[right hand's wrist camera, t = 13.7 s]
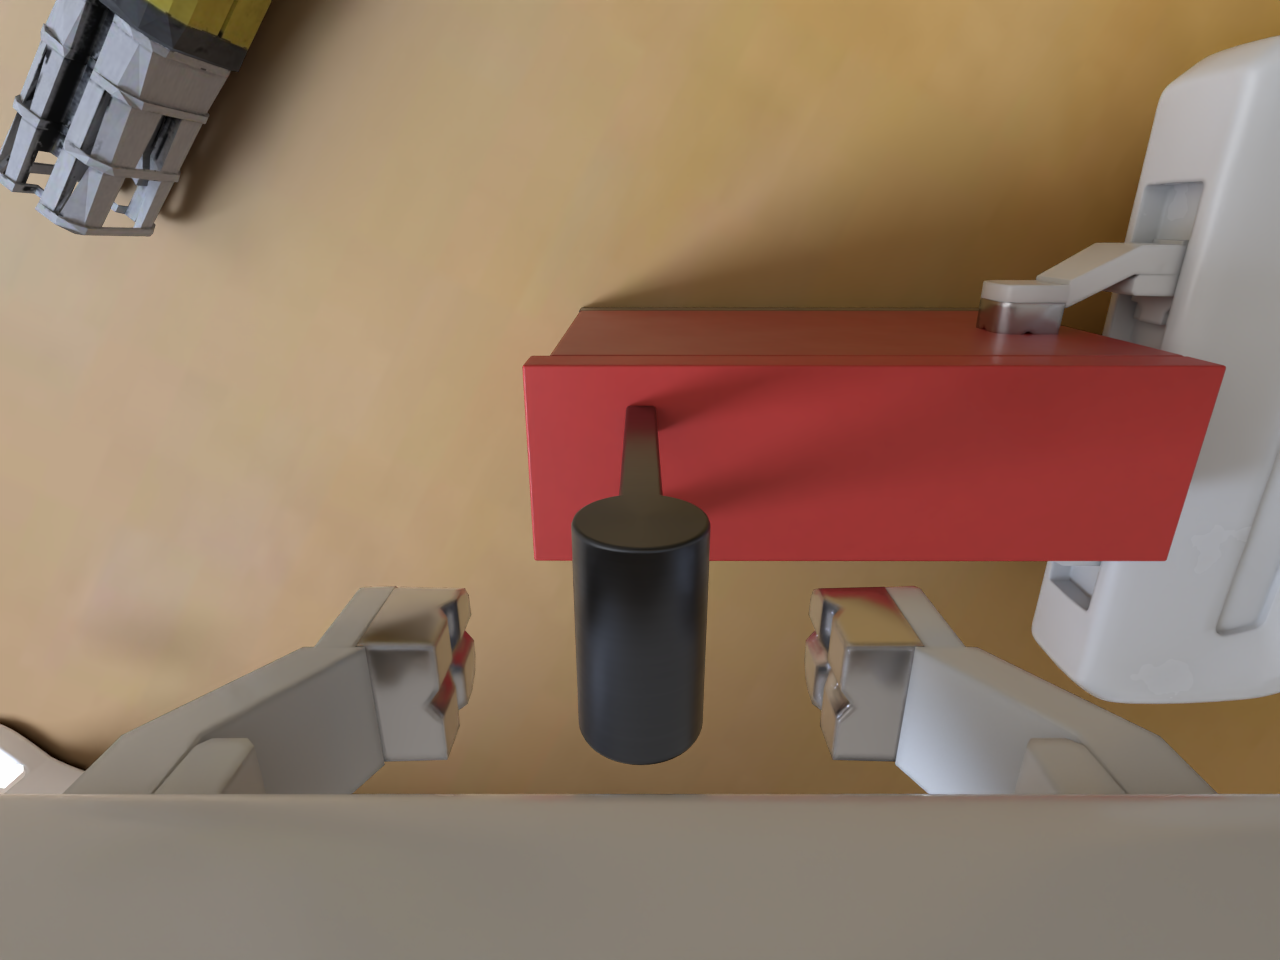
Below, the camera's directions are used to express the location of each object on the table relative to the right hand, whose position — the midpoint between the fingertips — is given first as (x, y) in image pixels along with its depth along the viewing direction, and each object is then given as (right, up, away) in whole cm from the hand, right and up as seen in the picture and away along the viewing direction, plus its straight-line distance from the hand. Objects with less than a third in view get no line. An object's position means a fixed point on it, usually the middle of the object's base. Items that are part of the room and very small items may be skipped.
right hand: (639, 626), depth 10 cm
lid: (+5, +3, +7) cm, 10 cm away
